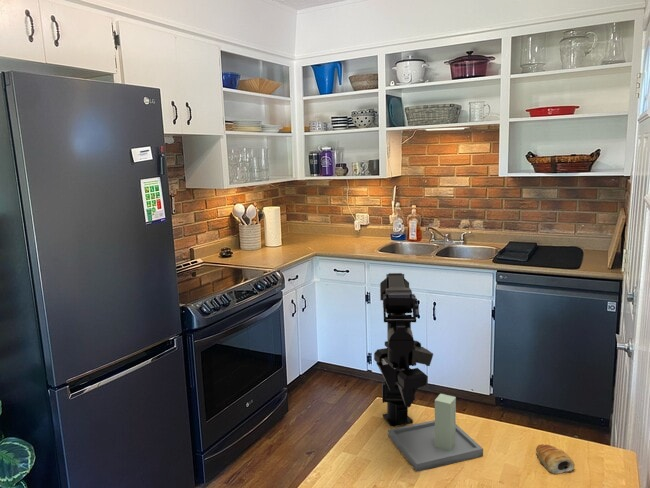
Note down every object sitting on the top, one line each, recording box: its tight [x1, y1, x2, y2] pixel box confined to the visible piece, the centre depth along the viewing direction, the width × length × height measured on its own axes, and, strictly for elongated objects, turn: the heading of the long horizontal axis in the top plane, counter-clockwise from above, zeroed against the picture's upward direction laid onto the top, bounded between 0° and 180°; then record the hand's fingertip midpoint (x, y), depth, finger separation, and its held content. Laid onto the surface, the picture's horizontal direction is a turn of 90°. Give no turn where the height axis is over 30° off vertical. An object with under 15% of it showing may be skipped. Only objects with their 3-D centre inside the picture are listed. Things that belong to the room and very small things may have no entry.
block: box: [434, 393, 457, 451], centre depth 125 cm, size 4×4×12 cm
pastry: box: [535, 444, 576, 475], centre depth 119 cm, size 9×7×4 cm
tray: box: [387, 419, 484, 473], centre depth 127 cm, size 16×18×2 cm
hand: (399, 398), depth 126 cm, fingers open, 9 cm apart
